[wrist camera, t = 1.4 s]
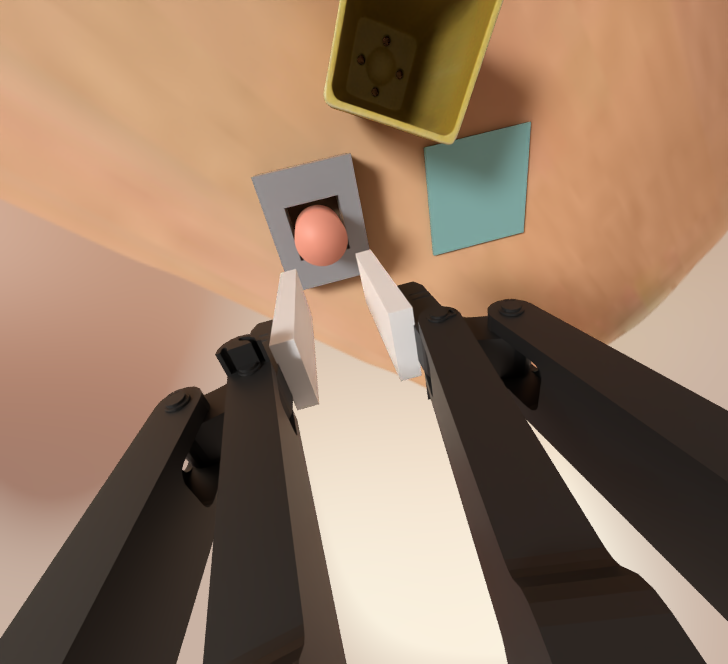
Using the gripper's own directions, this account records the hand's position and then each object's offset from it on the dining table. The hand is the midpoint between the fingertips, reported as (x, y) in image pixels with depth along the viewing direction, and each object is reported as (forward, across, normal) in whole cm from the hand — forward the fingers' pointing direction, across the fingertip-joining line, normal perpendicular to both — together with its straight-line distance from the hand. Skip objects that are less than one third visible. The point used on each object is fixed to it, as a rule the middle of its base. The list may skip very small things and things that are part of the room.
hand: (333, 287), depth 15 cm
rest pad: (+17, +16, -1) cm, 23 cm away
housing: (+17, 0, 0) cm, 17 cm away
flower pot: (+17, +8, +10) cm, 21 cm away
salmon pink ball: (+14, 0, 0) cm, 14 cm away
